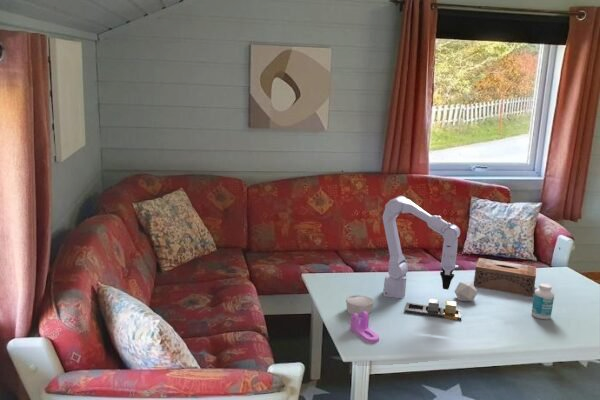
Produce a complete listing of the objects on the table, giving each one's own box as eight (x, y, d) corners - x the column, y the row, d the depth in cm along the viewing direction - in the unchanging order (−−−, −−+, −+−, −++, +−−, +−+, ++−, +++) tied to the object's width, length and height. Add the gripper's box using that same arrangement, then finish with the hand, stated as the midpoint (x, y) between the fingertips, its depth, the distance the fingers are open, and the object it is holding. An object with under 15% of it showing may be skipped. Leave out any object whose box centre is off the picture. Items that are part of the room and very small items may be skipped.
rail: (404, 314, 222) (404, 309, 222) (406, 306, 230) (406, 302, 229) (460, 322, 217) (461, 317, 216) (460, 314, 224) (461, 309, 224)
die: (472, 308, 233) (484, 288, 234) (454, 296, 233) (466, 276, 235) (465, 307, 241) (477, 287, 243) (448, 295, 242) (459, 276, 243)
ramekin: (357, 304, 231) (357, 292, 230) (378, 312, 223) (379, 300, 222) (339, 311, 223) (340, 299, 222) (360, 320, 215) (361, 308, 214)
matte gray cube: (427, 313, 222) (428, 302, 221) (428, 309, 225) (429, 298, 224) (437, 315, 221) (439, 303, 220) (438, 311, 224) (439, 299, 223)
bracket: (350, 329, 208) (351, 311, 206) (362, 326, 210) (363, 309, 208) (369, 344, 196) (370, 326, 195) (382, 341, 199) (383, 323, 197)
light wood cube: (444, 316, 220) (445, 304, 219) (444, 312, 224) (445, 300, 223) (454, 317, 219) (456, 305, 218) (454, 313, 223) (456, 301, 222)
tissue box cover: (533, 286, 260) (536, 266, 257) (532, 297, 247) (535, 276, 244) (476, 277, 269) (479, 257, 267) (473, 286, 256) (475, 266, 254)
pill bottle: (542, 321, 221) (546, 289, 218) (527, 314, 227) (531, 283, 224) (554, 318, 224) (559, 287, 221) (539, 311, 231) (544, 281, 228)
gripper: (459, 261, 217) (455, 293, 220) (459, 250, 231) (456, 281, 234) (440, 258, 219) (437, 290, 222) (442, 248, 233) (439, 278, 236)
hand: (445, 285), depth 228 cm, fingers open, 7 cm apart
